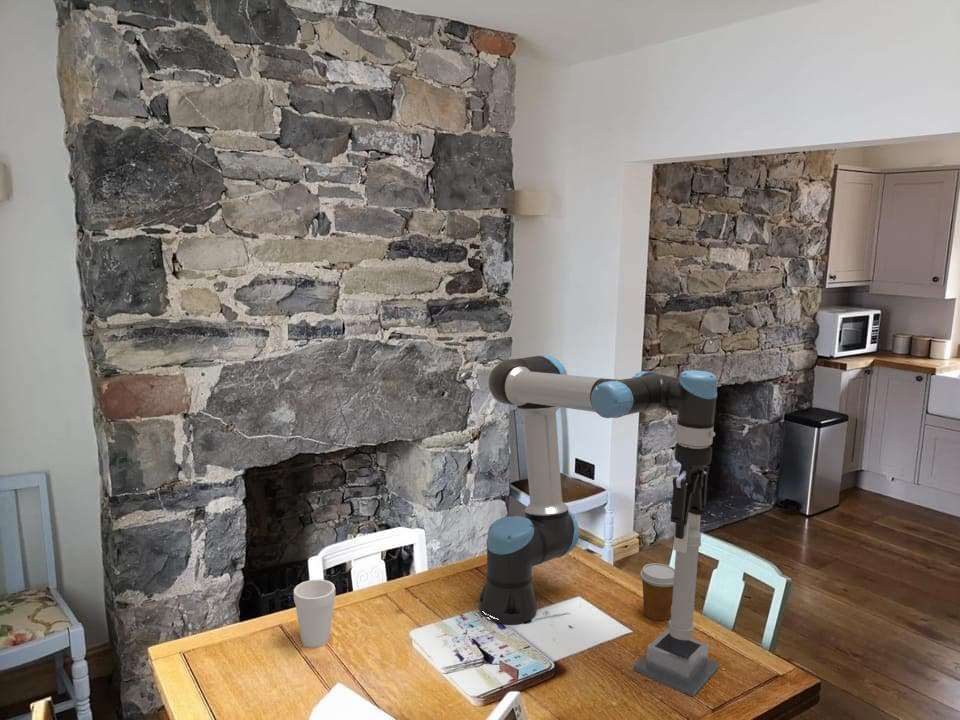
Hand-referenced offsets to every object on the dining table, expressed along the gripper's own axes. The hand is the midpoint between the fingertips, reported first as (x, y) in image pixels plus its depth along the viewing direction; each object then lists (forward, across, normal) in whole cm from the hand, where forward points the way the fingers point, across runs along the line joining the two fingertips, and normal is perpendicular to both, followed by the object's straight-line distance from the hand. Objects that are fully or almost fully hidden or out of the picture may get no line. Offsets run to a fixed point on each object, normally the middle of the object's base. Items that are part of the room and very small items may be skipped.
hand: (686, 546), depth 153 cm
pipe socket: (+29, 0, 0) cm, 29 cm away
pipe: (+21, 0, 0) cm, 21 cm away
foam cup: (+30, -47, +69) cm, 89 cm away
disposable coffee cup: (+30, +19, +14) cm, 38 cm away
